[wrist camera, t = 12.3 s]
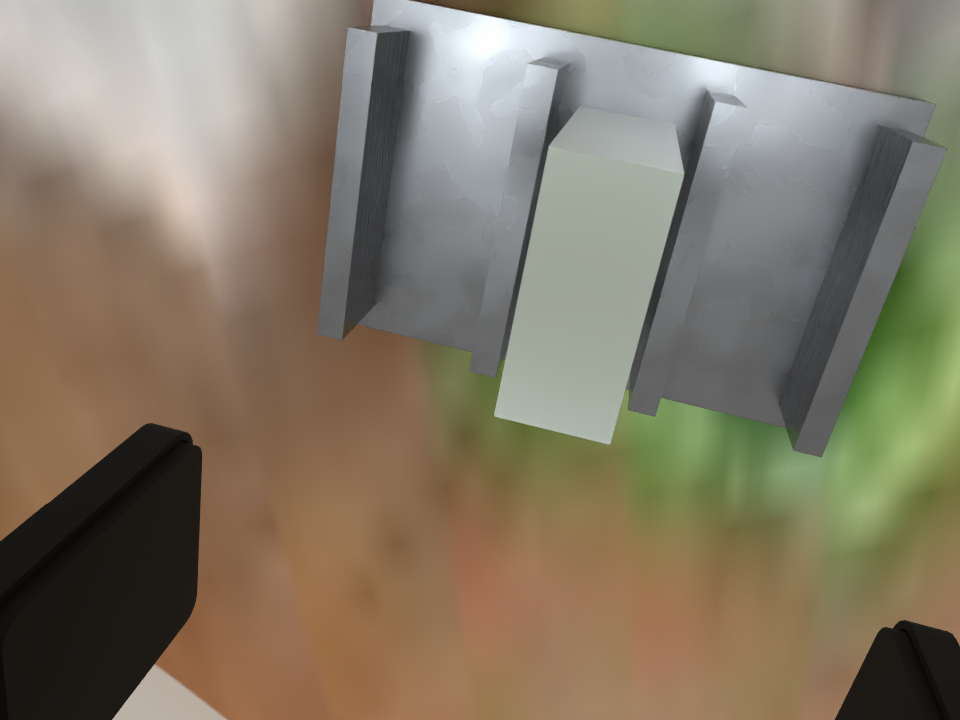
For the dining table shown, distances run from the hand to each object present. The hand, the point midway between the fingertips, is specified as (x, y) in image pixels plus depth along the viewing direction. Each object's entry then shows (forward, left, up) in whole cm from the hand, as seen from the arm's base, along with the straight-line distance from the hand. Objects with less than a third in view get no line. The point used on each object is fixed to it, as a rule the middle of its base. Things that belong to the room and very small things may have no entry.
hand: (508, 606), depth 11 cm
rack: (0, 0, -24) cm, 24 cm away
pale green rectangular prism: (0, 0, -23) cm, 23 cm away
